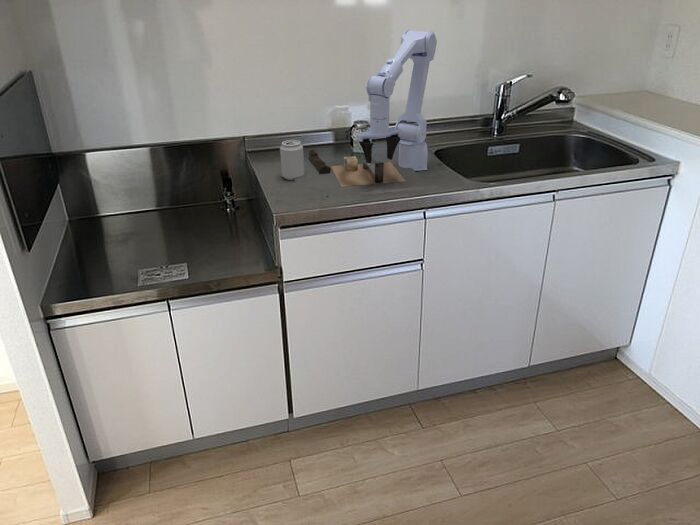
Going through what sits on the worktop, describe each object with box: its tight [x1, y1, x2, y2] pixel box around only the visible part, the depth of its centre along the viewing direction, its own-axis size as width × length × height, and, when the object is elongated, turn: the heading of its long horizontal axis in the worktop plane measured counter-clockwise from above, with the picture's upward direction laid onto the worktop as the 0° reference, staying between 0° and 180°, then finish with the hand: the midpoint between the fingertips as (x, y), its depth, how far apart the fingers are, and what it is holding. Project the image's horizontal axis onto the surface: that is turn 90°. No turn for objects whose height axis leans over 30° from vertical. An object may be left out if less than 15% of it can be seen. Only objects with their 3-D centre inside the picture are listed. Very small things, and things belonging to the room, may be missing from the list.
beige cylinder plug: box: [347, 157, 359, 171], centre depth 195 cm, size 4×4×3 cm
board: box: [330, 155, 407, 188], centre depth 192 cm, size 21×20×4 cm
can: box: [279, 139, 305, 181], centre depth 191 cm, size 8×8×12 cm
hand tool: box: [308, 149, 332, 175], centre depth 200 cm, size 19×4×5 cm, turn 16°
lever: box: [362, 157, 384, 183], centre depth 190 cm, size 18×4×6 cm, turn 11°
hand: (379, 160), depth 182 cm, fingers open, 7 cm apart
